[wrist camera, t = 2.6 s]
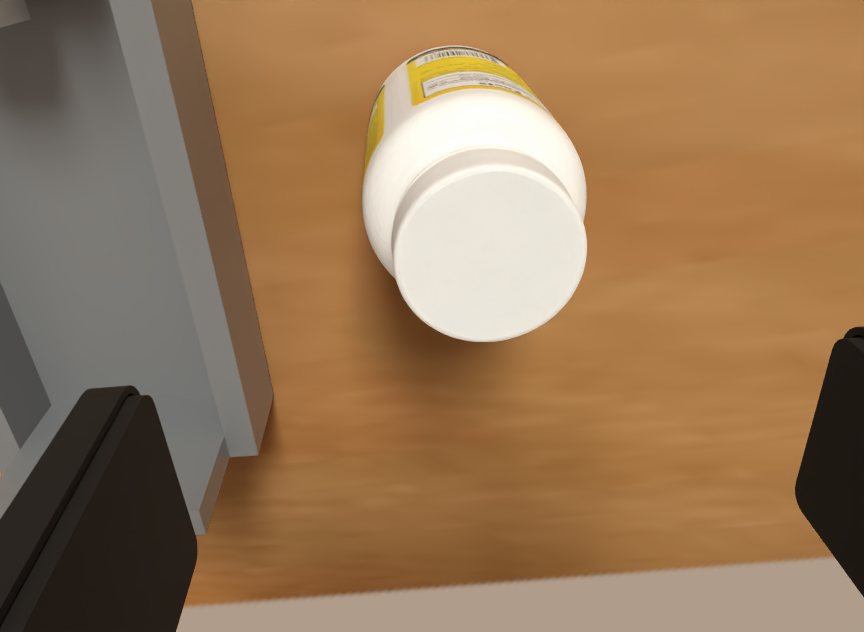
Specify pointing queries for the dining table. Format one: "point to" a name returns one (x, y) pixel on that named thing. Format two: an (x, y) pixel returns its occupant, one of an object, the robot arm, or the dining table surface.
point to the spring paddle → (13, 12)
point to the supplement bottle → (473, 196)
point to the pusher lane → (121, 241)
